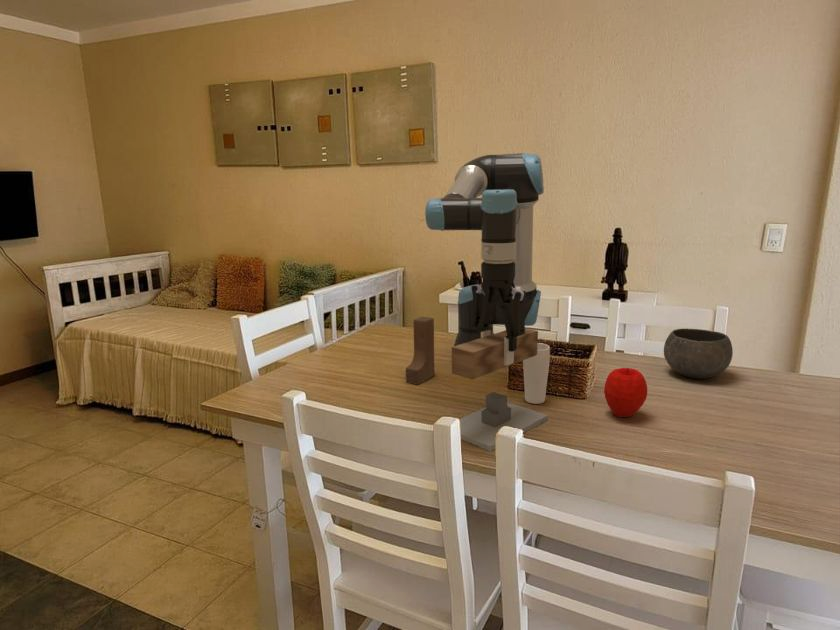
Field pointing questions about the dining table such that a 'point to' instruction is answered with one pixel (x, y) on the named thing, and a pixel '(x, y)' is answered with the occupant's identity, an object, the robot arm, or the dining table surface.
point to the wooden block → (422, 351)
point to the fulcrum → (497, 420)
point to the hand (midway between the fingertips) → (496, 360)
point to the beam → (490, 354)
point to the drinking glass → (536, 374)
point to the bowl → (698, 352)
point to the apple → (625, 391)
